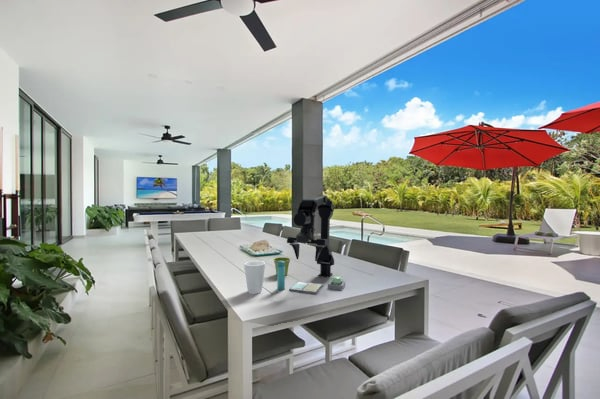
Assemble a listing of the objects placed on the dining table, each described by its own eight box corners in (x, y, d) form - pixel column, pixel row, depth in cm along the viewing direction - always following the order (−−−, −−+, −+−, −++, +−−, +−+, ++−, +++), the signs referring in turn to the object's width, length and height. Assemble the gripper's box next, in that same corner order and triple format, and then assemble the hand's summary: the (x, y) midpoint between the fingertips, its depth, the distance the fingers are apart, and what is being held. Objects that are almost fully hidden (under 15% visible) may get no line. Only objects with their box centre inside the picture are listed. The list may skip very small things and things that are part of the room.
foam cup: (250, 296, 124) (249, 266, 124) (241, 290, 131) (240, 262, 131) (269, 292, 129) (268, 263, 129) (259, 286, 137) (259, 259, 137)
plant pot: (289, 277, 153) (289, 261, 152) (272, 277, 153) (272, 261, 153) (290, 272, 162) (290, 257, 162) (274, 272, 162) (274, 257, 162)
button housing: (331, 283, 141) (331, 279, 141) (345, 285, 139) (345, 281, 139) (327, 288, 135) (327, 284, 135) (342, 289, 132) (342, 285, 132)
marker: (279, 287, 136) (279, 260, 136) (285, 288, 135) (285, 261, 134) (276, 289, 133) (276, 262, 132) (283, 290, 131) (282, 262, 131)
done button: (333, 281, 140) (333, 276, 140) (342, 282, 138) (342, 276, 138) (331, 284, 135) (331, 278, 135) (340, 285, 134) (340, 279, 134)
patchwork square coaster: (298, 283, 142) (298, 280, 142) (323, 285, 138) (323, 283, 138) (288, 291, 130) (288, 289, 130) (315, 294, 126) (315, 292, 126)
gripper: (282, 225, 129) (280, 260, 127) (321, 227, 121) (319, 264, 120) (292, 225, 139) (291, 257, 137) (329, 227, 131) (328, 261, 130)
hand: (306, 260), depth 131 cm, fingers open, 9 cm apart
